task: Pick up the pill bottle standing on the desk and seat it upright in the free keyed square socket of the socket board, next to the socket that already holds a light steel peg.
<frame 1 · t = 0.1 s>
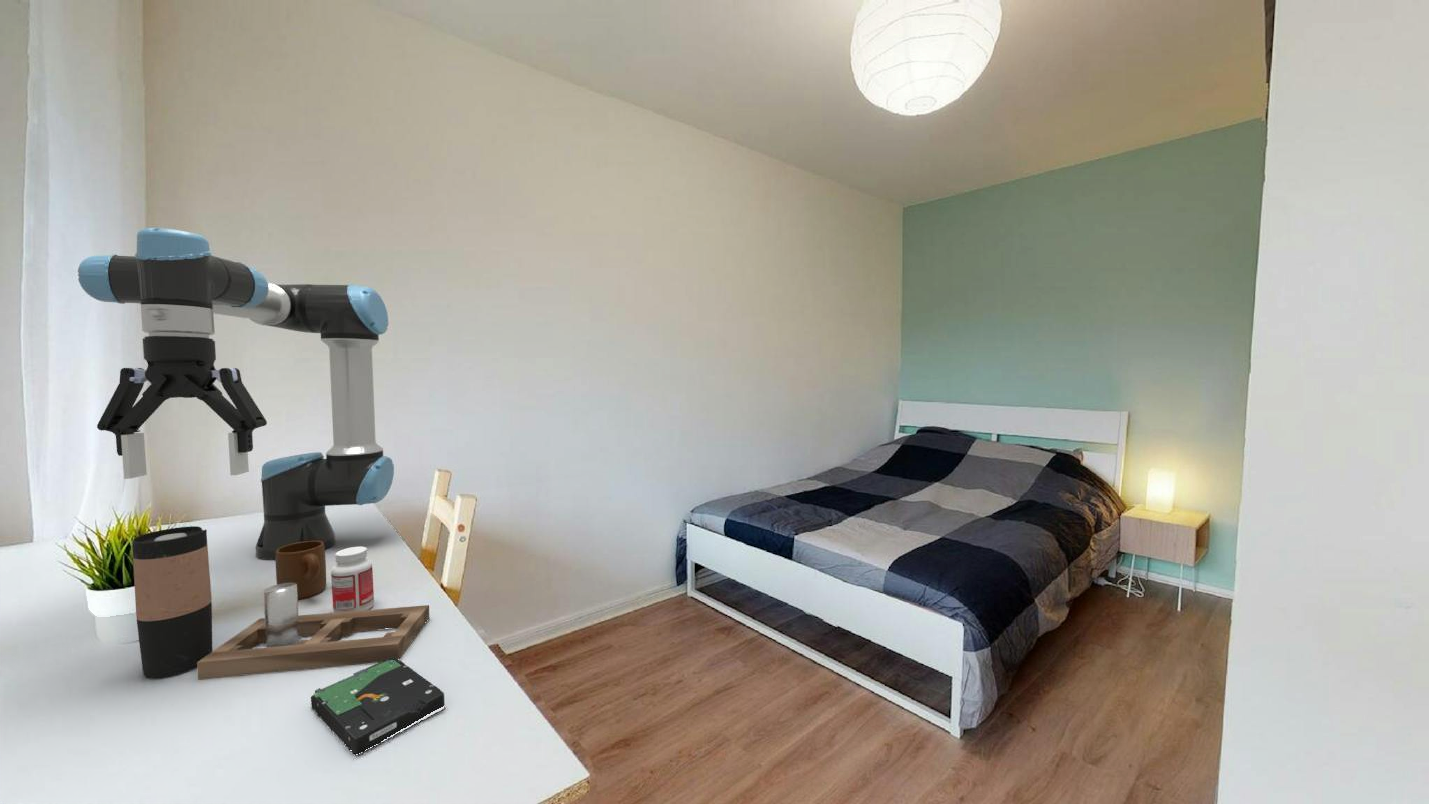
hand: (188, 475, 78), 28 cm above the table, tool pointing down, fingers open, 13 cm apart
steel peg: (283, 649, 80), resting in socket board
disk drive: (378, 713, 66), on the table
pill bottle: (354, 610, 93), on the table
travel mug: (179, 666, 76), on the table
socket board: (326, 645, 81), on the table
mug: (306, 596, 99), on the table
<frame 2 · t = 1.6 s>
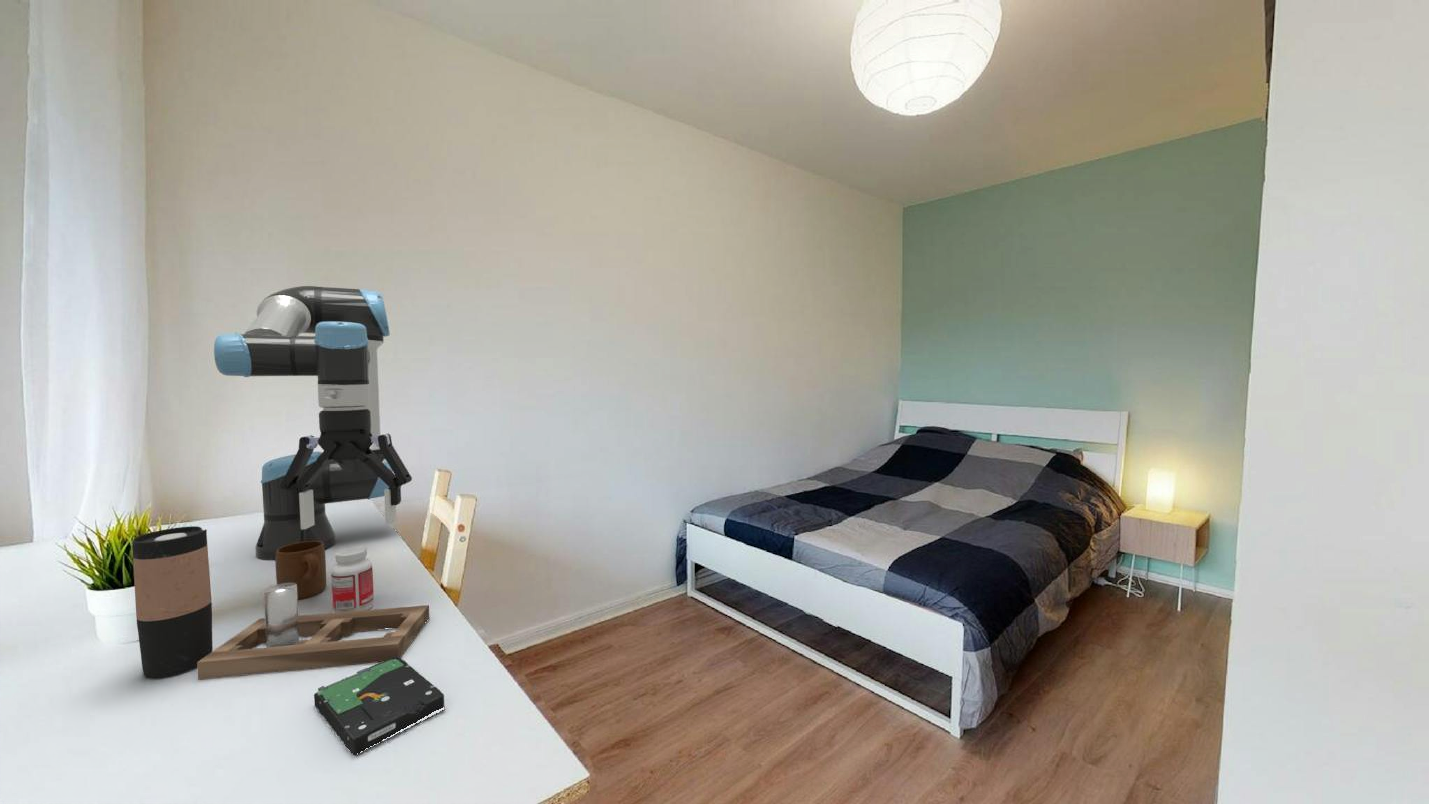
hand: (350, 525, 92), 16 cm above the table, tool pointing down, fingers open, 13 cm apart
nothing on the table moved.
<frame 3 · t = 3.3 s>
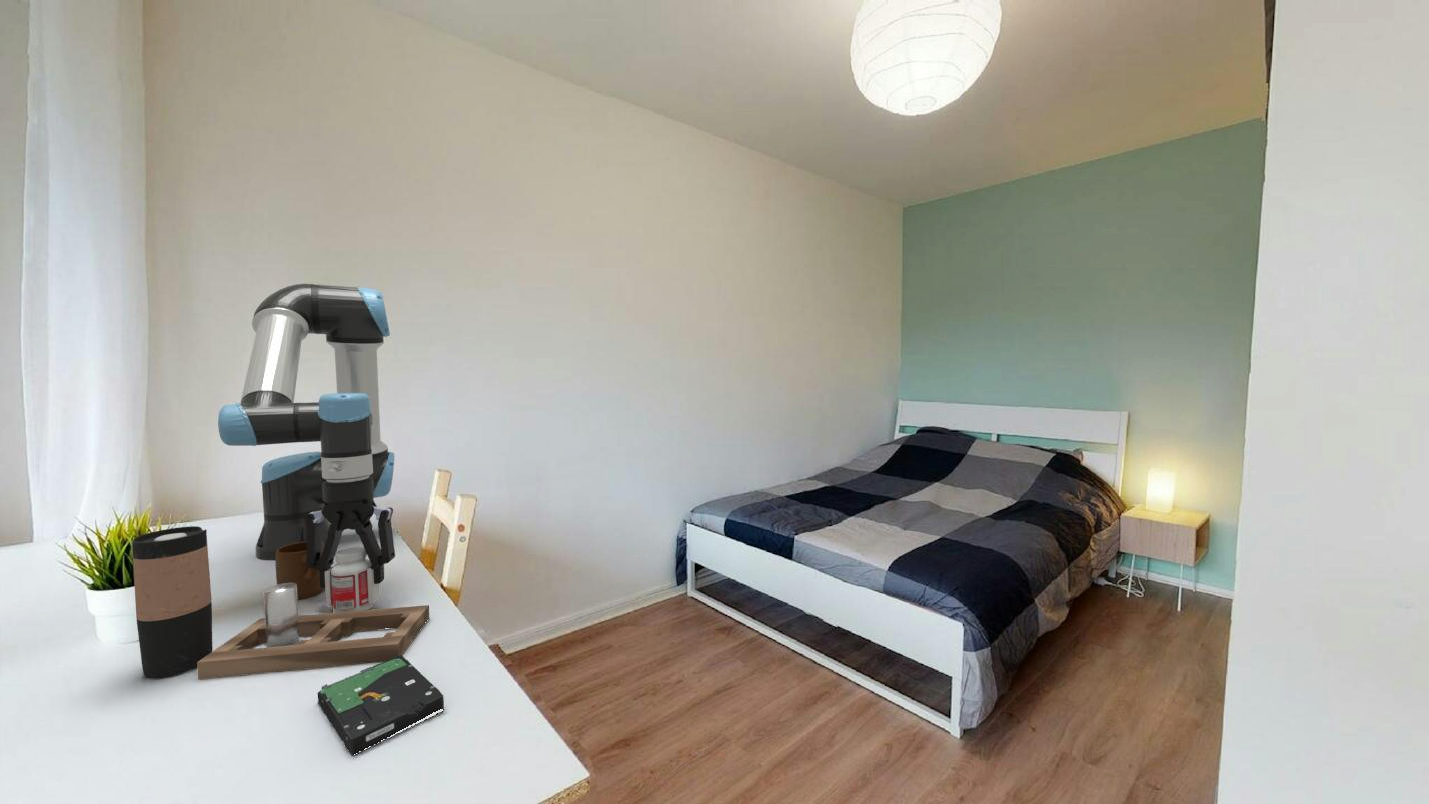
hand: (353, 601, 93), 1 cm above the table, tool pointing down, fingers closed on pill bottle, 6 cm apart
pill bottle: (354, 610, 93), on the table, touching gripper
everything else where it was.
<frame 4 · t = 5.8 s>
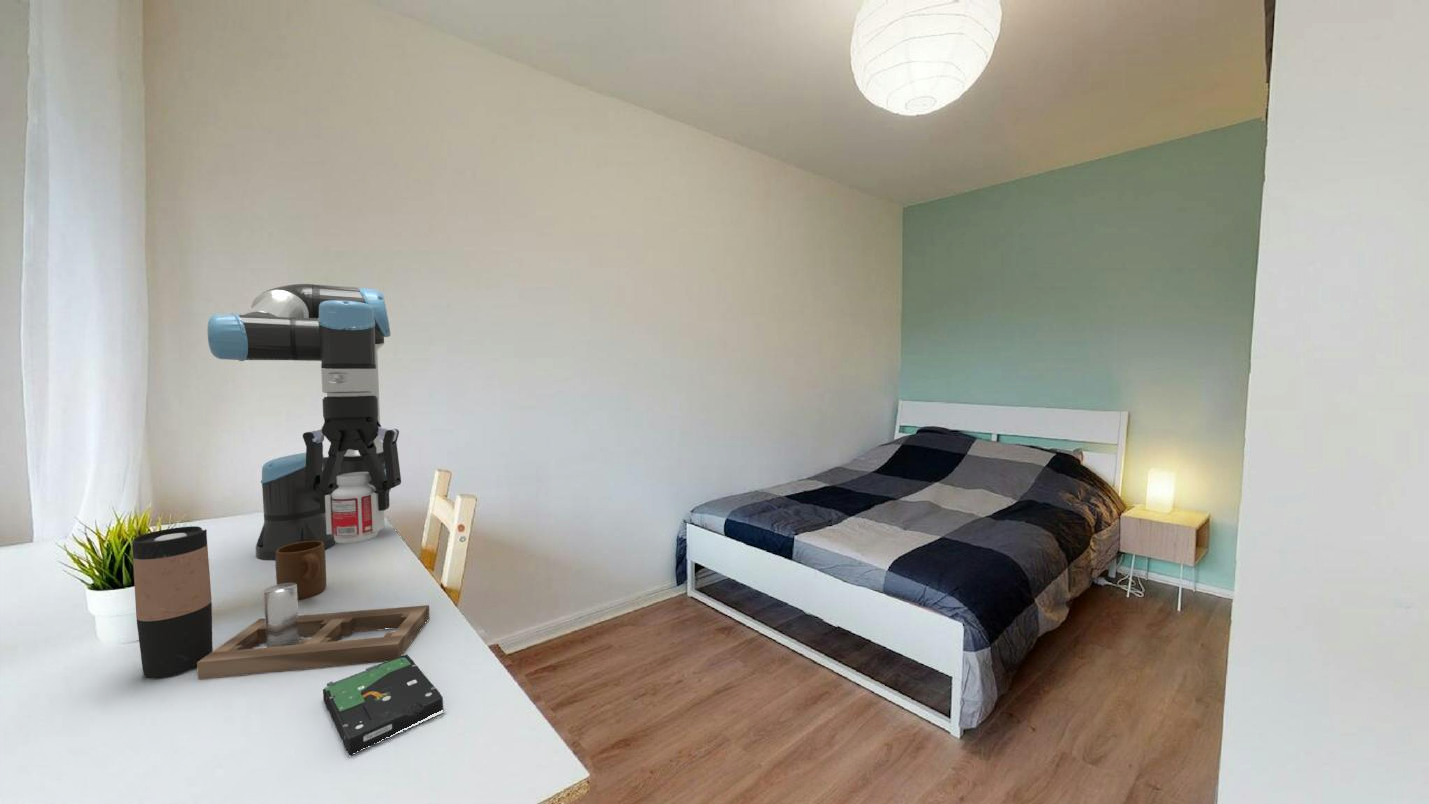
hand: (356, 530, 86), 17 cm above the table, tool pointing down, fingers closed on pill bottle, 6 cm apart
pill bottle: (356, 539, 86), point 15 cm above the table, touching gripper
everything else where it was.
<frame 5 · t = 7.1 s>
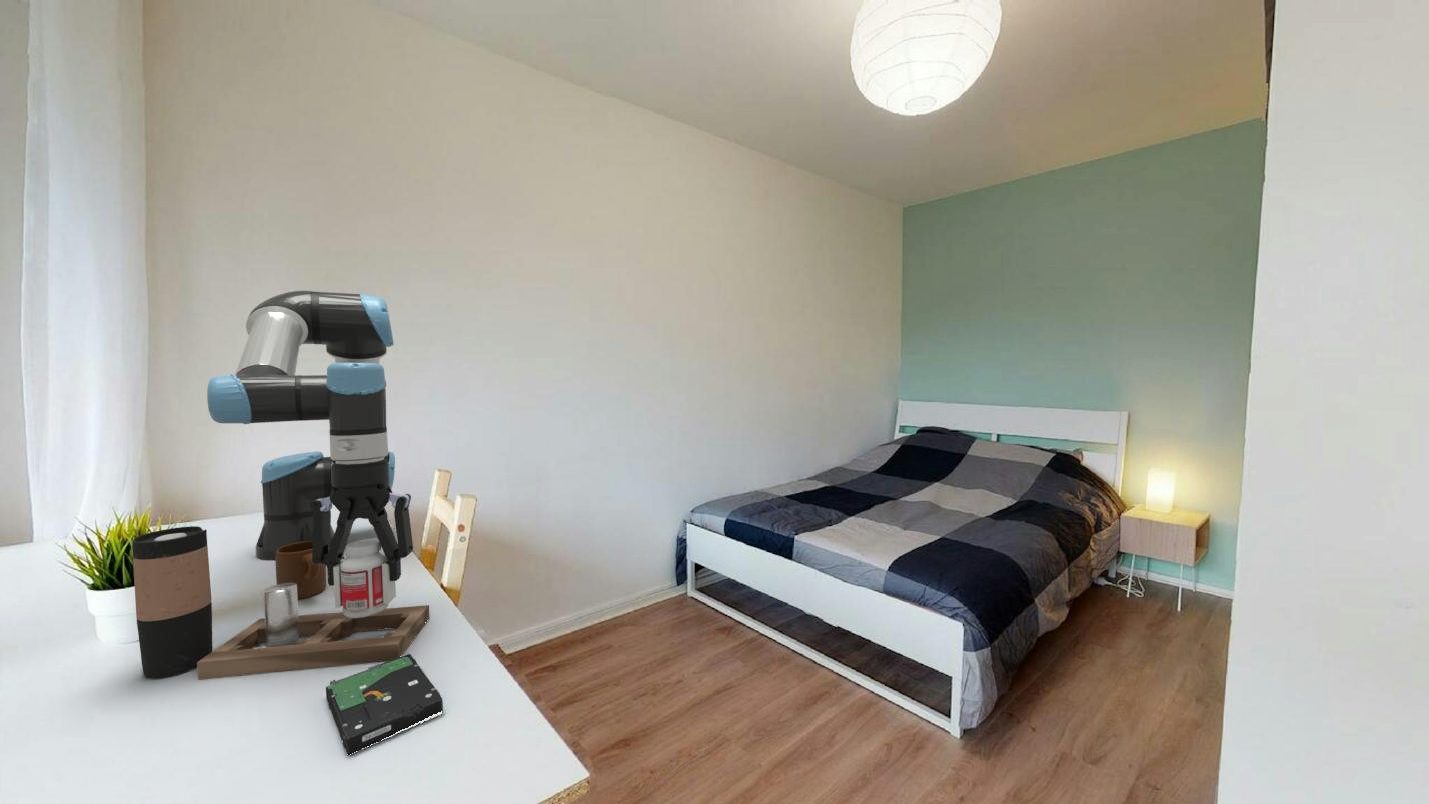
hand: (366, 601, 81), 7 cm above the table, tool pointing down, fingers closed on pill bottle, 6 cm apart
pill bottle: (366, 611, 82), point 5 cm above the table, touching gripper
everything else where it was.
when the fingers open (2 cm above the table, at t = 8.2 s): pill bottle stays where it is, resting in socket board.
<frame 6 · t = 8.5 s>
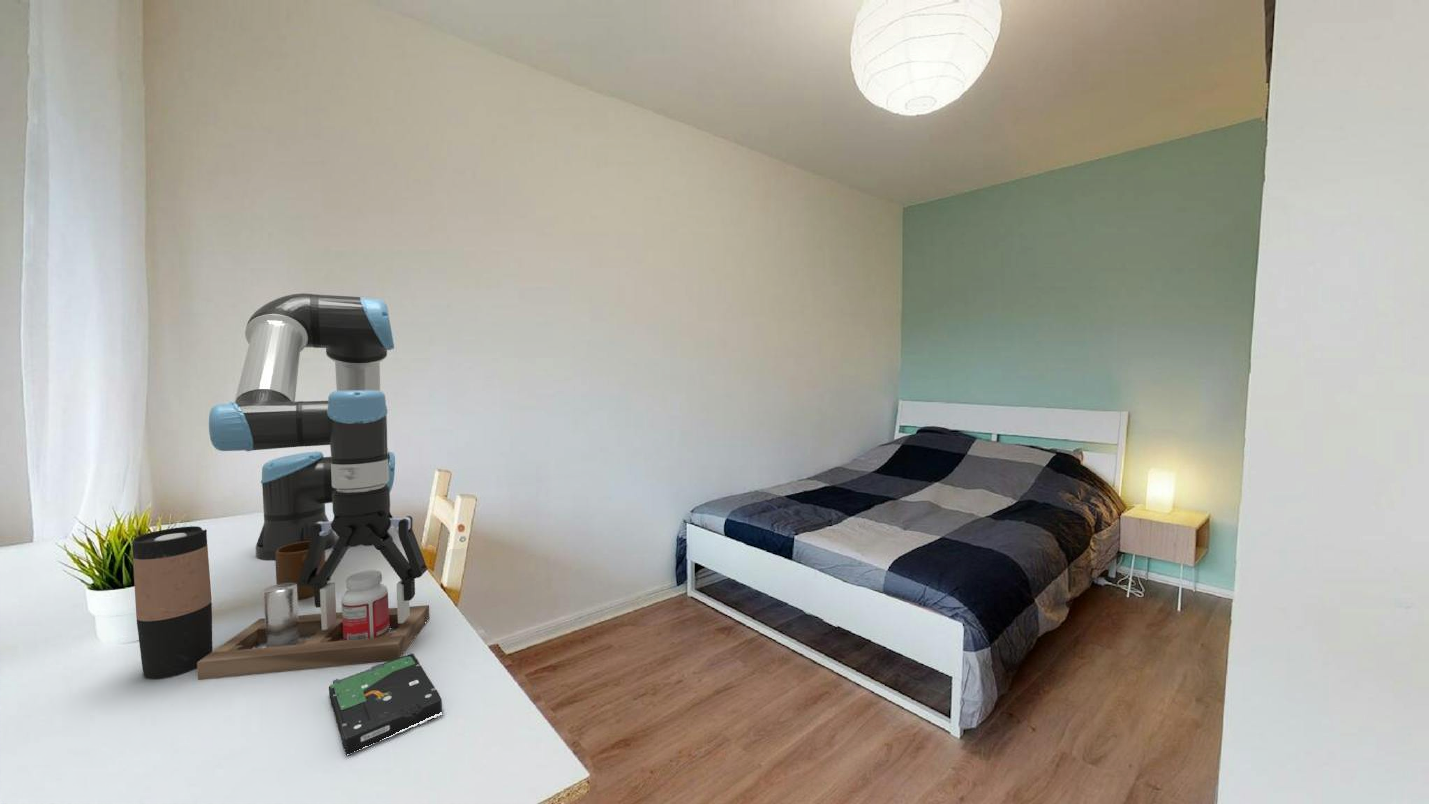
hand: (367, 622, 82), 3 cm above the table, tool pointing down, fingers open, 10 cm apart
pill bottle: (367, 643, 82), resting in socket board
everything else where it was.
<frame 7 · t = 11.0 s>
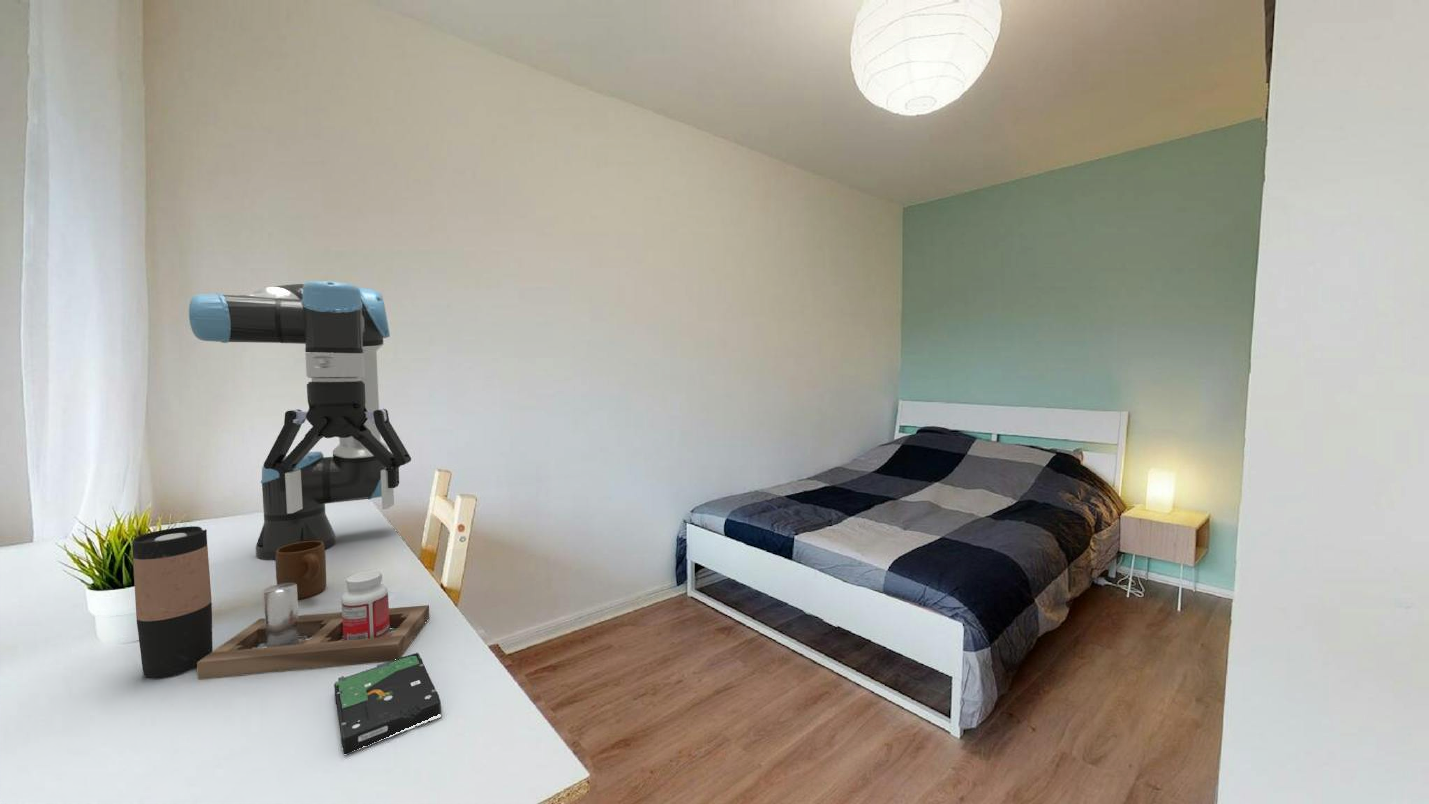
hand: (342, 509, 83), 21 cm above the table, tool pointing down, fingers open, 13 cm apart
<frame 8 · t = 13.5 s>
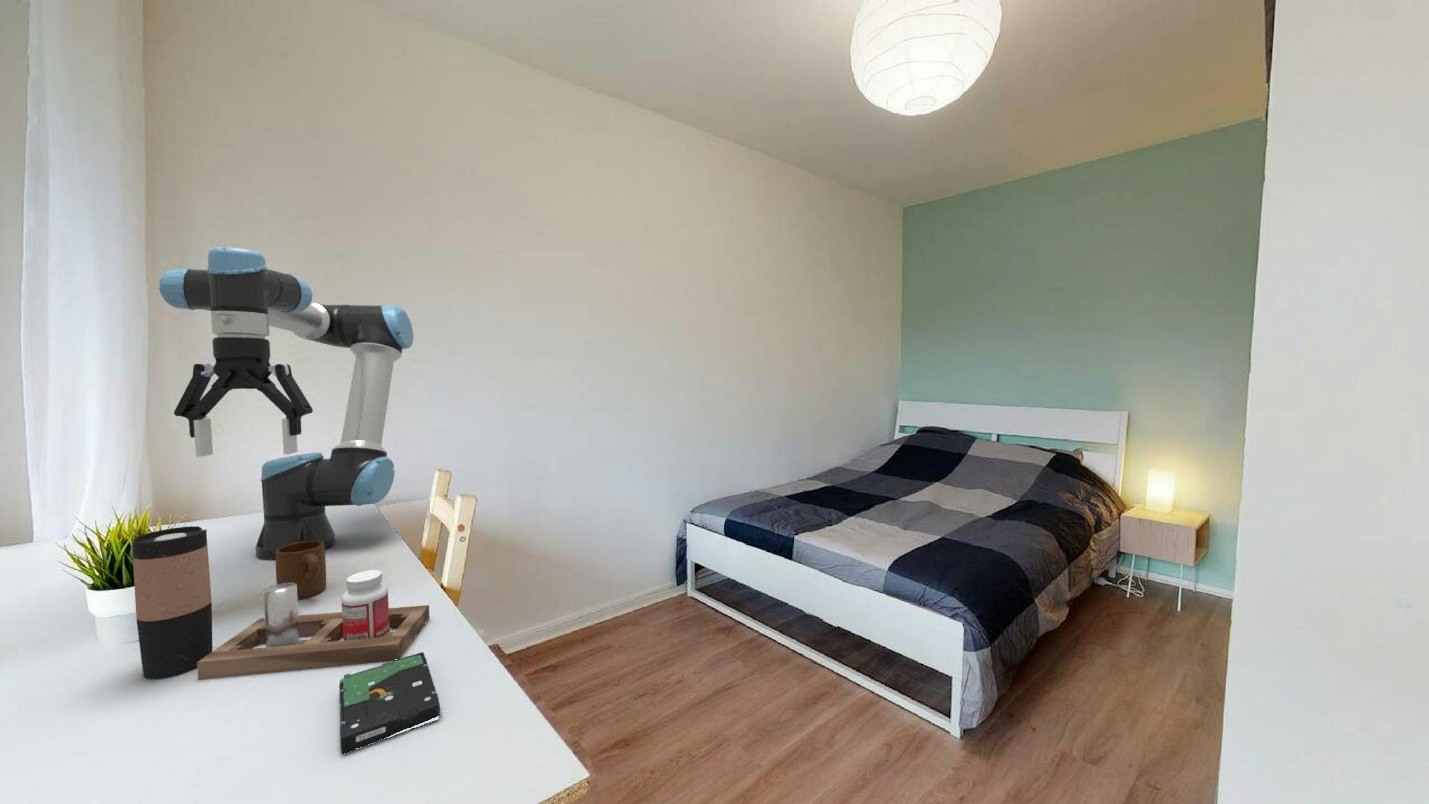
hand: (248, 454, 92), 29 cm above the table, tool pointing down, fingers open, 13 cm apart
at the end: pill bottle 0.1 cm from the target spot on the socket board, point 0.0 cm above the socket board's base; pill bottle tilted 0°; steel peg moved 0.0 cm from its start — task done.
